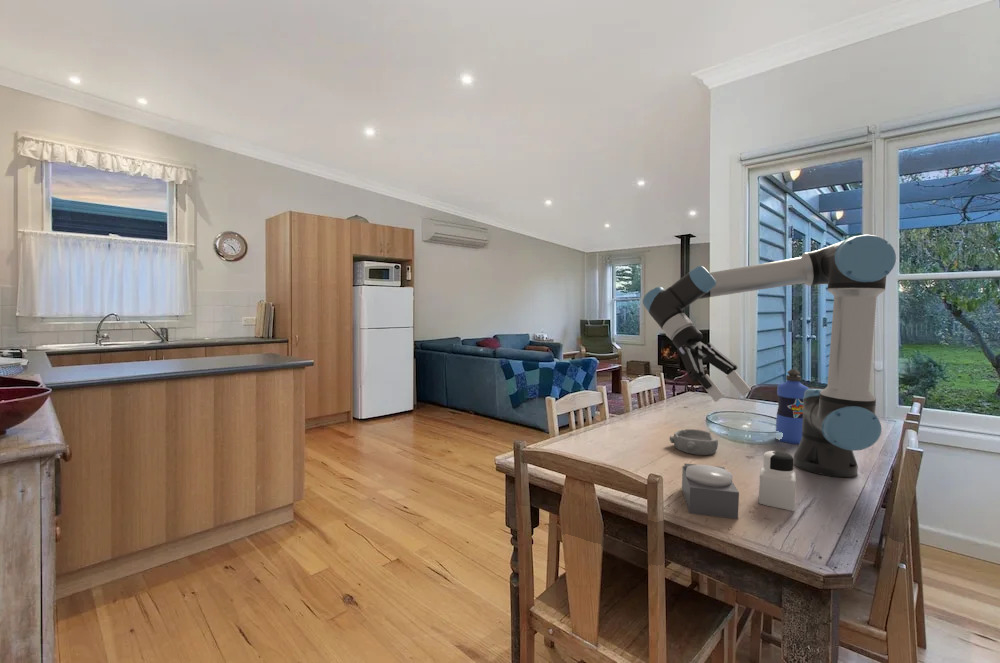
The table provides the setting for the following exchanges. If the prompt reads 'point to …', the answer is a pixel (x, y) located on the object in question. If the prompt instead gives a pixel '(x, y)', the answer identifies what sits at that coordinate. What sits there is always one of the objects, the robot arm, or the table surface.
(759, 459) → the table surface
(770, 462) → the medicine bottle
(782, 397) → the water bottle
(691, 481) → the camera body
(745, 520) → the table surface
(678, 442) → the dish
